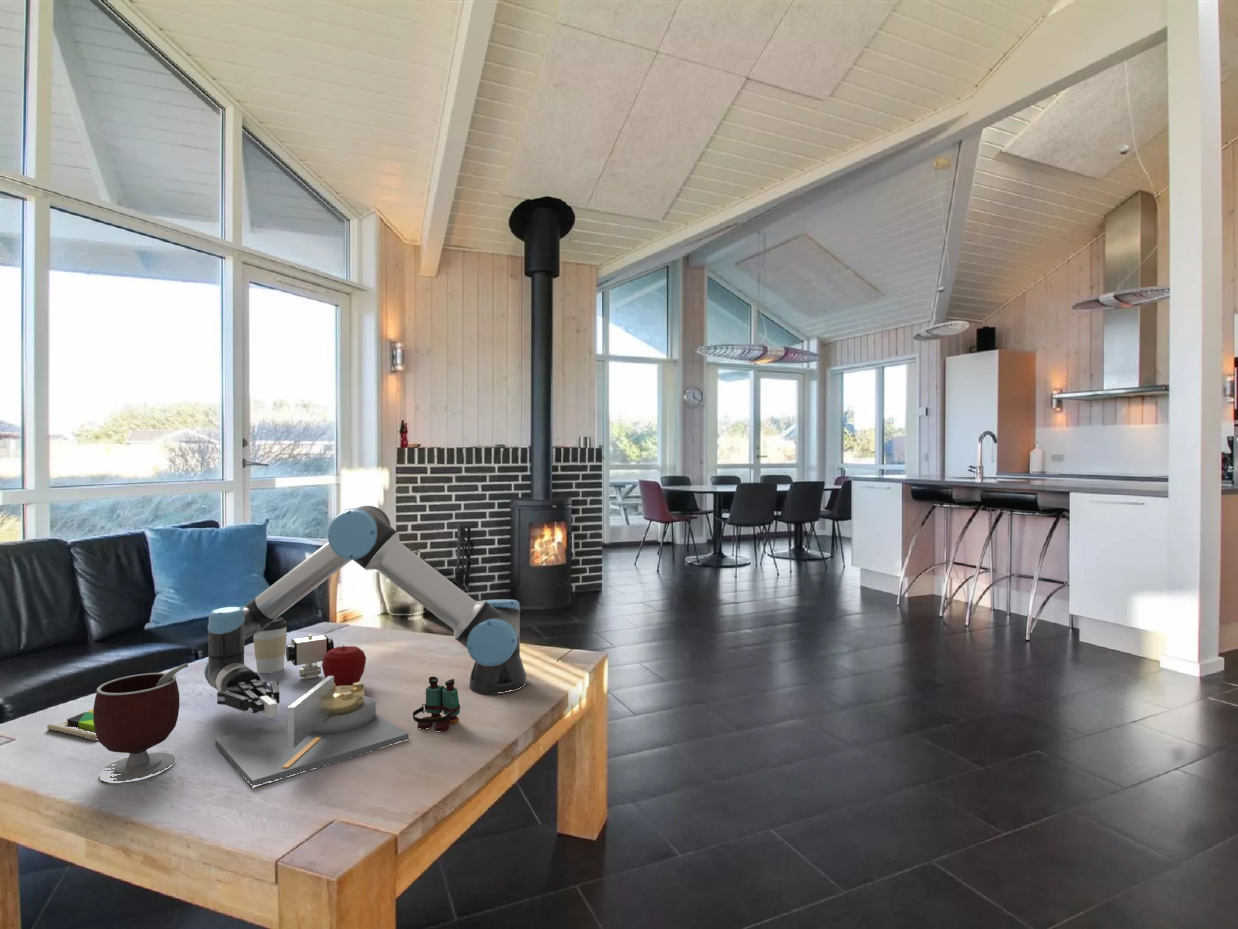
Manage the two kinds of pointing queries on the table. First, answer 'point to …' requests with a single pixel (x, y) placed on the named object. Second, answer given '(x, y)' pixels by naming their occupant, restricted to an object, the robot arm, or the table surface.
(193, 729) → the table surface
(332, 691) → the two-tone lugged fixture
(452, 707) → the binoculars
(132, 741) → the mate gourd
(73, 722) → the wooden puzzle
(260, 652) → the coffee cup
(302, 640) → the pneumatic valve
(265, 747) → the grey flat slab
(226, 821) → the table surface
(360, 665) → the apple
